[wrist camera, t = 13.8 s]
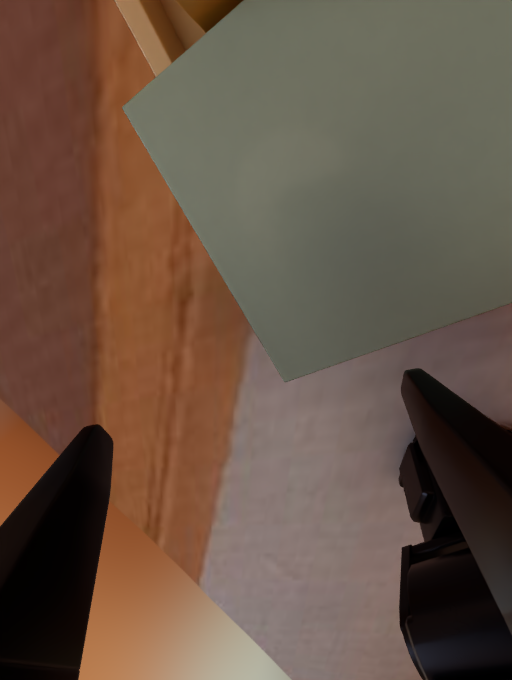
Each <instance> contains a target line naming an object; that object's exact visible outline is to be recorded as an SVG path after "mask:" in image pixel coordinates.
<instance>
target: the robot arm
mask: <svg viewBox="0 0 512 680" xmlns="http://www.w3.org/2000/svg"><path fill="white" fill-rule="evenodd" d="M401 394H402V397H403V400H404V403H405V406H406V409H407V412H408V414H409V417H410V420H411V423H412V426H413V429H414V431H415V434H416V435H415V438H414V440H413V443H410V444H409V445H408V447H407V450H406V452H405V455H404V458H403V460H402V463H401V465H400V468H399V470H400V476H399V483H400V486H401V487H403V488H404V491H405V496H406V500H407V504H408V509H409V513H410V517H411V518H412V520H413V521H414V522H418V523H420V526H421V530H422V534H423V538H424V542H423V543H420V544H417V545H414V546H412V545H408V546H405V547H402V558H401V580H400V603H399V613H400V628H401V631H402V633H403V636H404V640H405V643H406V646H407V648H408V651H409V654H410V656H411V658H412V661H413V663H414V665H415V667H416V669H417V671H418V672H419V674H420V676H421V678H422V679H423V680H512V431H508V430H504V429H503V428H502V427H500V426H499V425H497V424H496V423H495V422H493V421H492V420H491V419H489V418H488V417H487V416H485V415H484V414H482V413H481V412H480V411H478V410H477V409H476V408H474V407H473V406H471V405H470V404H469V403H467V402H466V401H465V400H463V399H462V398H461V397H459V396H458V395H456V394H455V393H454V392H452V391H451V390H450V389H448V388H447V387H445V386H444V385H443V384H441V383H440V382H439V381H437V380H436V379H434V378H433V377H432V376H430V375H429V374H428V373H426V372H425V371H424V370H422V369H419V368H416V369H410V370H406V371H405V372H404V374H403V380H402V385H401ZM112 460H113V440H112V438H111V437H110V435H109V434H108V433H107V432H106V431H105V430H104V429H103V428H102V427H101V426H100V425H98V424H96V425H90V426H86V427H84V428H83V429H82V430H81V431H80V432H79V433H78V434H77V436H76V437H75V438H74V439H73V440H72V442H71V443H70V444H69V445H68V446H67V448H66V449H65V450H64V451H63V452H62V454H61V455H60V456H59V457H58V458H57V460H56V461H55V462H54V463H53V464H52V465H51V467H50V468H49V469H48V470H47V471H46V473H45V474H44V475H43V476H42V477H41V479H40V480H39V481H38V482H37V483H36V484H35V486H34V487H33V488H32V489H31V490H30V492H29V493H28V494H27V495H26V497H25V498H24V499H23V500H22V501H21V502H20V503H19V505H18V506H17V507H16V508H15V509H14V511H13V512H12V513H11V514H10V515H9V517H8V518H7V519H6V520H5V521H4V523H3V524H2V525H1V526H0V680H78V678H79V672H80V671H79V669H80V665H81V660H82V654H83V648H84V642H85V636H86V630H87V625H88V619H89V613H90V608H91V602H92V596H93V590H94V584H95V579H96V573H97V567H98V561H99V556H100V550H101V544H102V539H103V532H104V527H105V521H106V516H107V510H108V504H109V498H110V489H111V475H112Z"/></svg>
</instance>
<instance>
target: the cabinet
mask: <svg viewBox="0 0 512 680" xmlns="http://www.w3.org/2000/svg"><path fill="white" fill-rule="evenodd" d="M122 108H123V110H124V112H125V114H126V115H127V117H128V119H129V120H130V122H131V124H132V125H133V127H134V129H135V130H136V132H137V134H138V136H139V137H140V139H141V141H142V142H143V144H144V146H145V147H146V149H147V151H148V152H149V154H150V156H151V157H152V159H153V161H154V163H155V164H156V166H157V168H158V169H159V171H160V173H161V174H162V176H163V178H164V179H165V181H166V183H167V185H168V186H169V188H170V190H171V191H172V193H173V195H174V196H175V198H176V200H177V201H178V203H179V205H180V207H181V208H182V210H183V212H184V213H185V215H186V217H187V218H188V220H189V222H190V223H191V225H192V227H193V228H194V230H195V232H196V234H197V235H198V237H199V239H200V240H201V242H202V244H203V245H204V247H205V249H206V250H207V252H208V254H209V256H210V257H211V259H212V261H213V262H214V264H215V266H216V267H217V269H218V271H219V272H220V274H221V276H222V278H223V279H224V281H225V283H226V284H227V286H228V288H229V289H230V291H231V293H232V294H233V296H234V298H235V299H236V301H237V303H238V305H239V306H240V308H241V310H242V311H243V313H244V315H245V316H246V318H247V320H248V321H249V323H250V325H251V327H252V328H253V330H254V332H255V333H256V335H257V337H258V338H259V340H260V342H261V343H262V345H263V347H264V348H265V350H266V352H267V354H268V355H269V357H270V359H271V360H272V362H273V364H274V365H275V367H276V369H277V370H278V372H279V374H280V376H281V377H282V379H283V381H284V382H288V381H291V380H294V379H296V378H299V377H302V376H305V375H308V374H311V373H313V372H316V371H319V370H322V369H325V368H328V367H331V366H333V365H336V364H339V363H342V362H345V361H348V360H351V359H353V358H356V357H359V356H362V355H365V354H368V353H370V352H373V351H376V350H379V349H382V348H385V347H388V346H390V345H393V344H396V343H399V342H402V341H405V340H408V339H410V338H413V337H416V336H419V335H422V334H425V333H427V332H430V331H433V330H436V329H439V328H442V327H445V326H447V325H450V324H453V323H456V322H459V321H462V320H465V319H467V318H470V317H473V316H476V315H479V314H482V313H485V312H487V311H490V310H493V309H496V308H499V307H502V306H504V305H507V304H510V303H512V0H243V1H242V2H241V3H240V4H239V5H238V6H236V7H235V8H234V9H233V10H232V11H231V12H230V13H228V14H227V15H226V16H225V17H224V18H223V19H222V20H220V21H219V22H218V23H217V24H216V25H215V26H214V27H213V28H211V29H210V30H209V31H208V32H207V33H206V34H205V35H203V36H202V37H201V38H200V39H199V40H198V41H197V42H195V43H194V44H193V45H192V46H191V47H190V48H189V49H188V50H186V51H185V52H184V53H183V54H182V55H181V56H180V57H178V58H177V59H176V60H175V61H174V62H173V63H172V64H170V65H169V66H168V67H167V68H166V69H165V70H164V71H162V72H161V73H160V74H159V75H158V76H157V77H156V78H155V79H153V80H152V81H151V82H150V83H149V84H148V85H147V86H145V87H144V88H143V89H142V90H141V91H140V92H139V93H137V94H136V95H135V96H134V97H133V98H132V99H131V100H130V101H128V102H127V103H126V104H125V105H124V106H123V107H122Z"/></svg>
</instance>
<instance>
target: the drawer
mask: <svg viewBox="0 0 512 680" xmlns="http://www.w3.org/2000/svg"><path fill="white" fill-rule="evenodd" d="M115 2H116V4H117V6H118V8H119V10H120V12H121V13H122V15H123V17H124V19H125V21H126V23H127V24H128V26H129V28H130V30H131V32H132V34H133V35H134V37H135V39H136V41H137V43H138V45H139V46H140V48H141V50H142V52H143V54H144V56H145V57H146V59H147V61H148V63H149V65H150V67H151V69H152V70H153V72H154V74H155V76H156V77H157V76H158V75H159V74H160V73H161V72H162V71H164V70H165V69H166V68H167V67H168V66H169V65H170V64H172V63H173V62H174V61H175V60H176V59H177V58H178V57H180V56H181V55H182V54H183V53H184V52H185V51H186V50H188V49H189V48H190V47H191V46H192V45H193V44H194V43H195V42H197V41H198V40H199V39H200V38H201V37H202V36H203V35H205V34H206V33H205V32H204V31H203V30H202V28H201V27H200V26H199V25H198V24H197V23H196V22H195V21H194V20H193V19H192V18H191V17H190V16H189V15H188V14H187V13H186V12H185V10H184V9H183V8H182V7H181V6H180V5H179V4H178V3H177V2H176V1H175V0H115Z"/></svg>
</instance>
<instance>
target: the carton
mask: <svg viewBox="0 0 512 680" xmlns="http://www.w3.org/2000/svg"><path fill="white" fill-rule="evenodd" d="M175 1H176V2H177V3H178V4H179V5H180V6H181V7H182V8H183V9H184V10H185V12H186V13H187V14H188V15H189V16H190V17H191V18H192V19H193V20H194V21H195V22H196V23H197V24H198V25H199V26H200V27H201V28H202V30H203V31H204V32H205V33H207V32H208V31H209V30H210V29H211V28H213V27H214V26H215V25H216V24H217V23H218V22H219V21H220V20H222V19H223V18H224V17H225V16H226V15H227V14H228V13H230V12H231V11H232V10H233V9H234V8H235V7H236V6H238V5H239V4H240V3H241V2H242V1H243V0H175Z"/></svg>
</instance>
